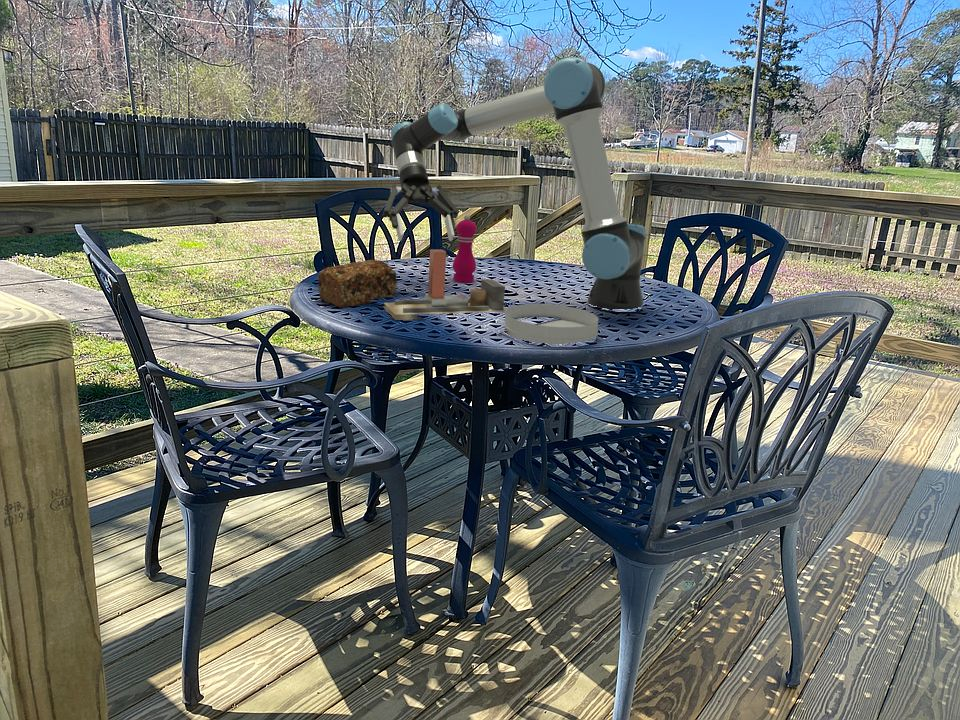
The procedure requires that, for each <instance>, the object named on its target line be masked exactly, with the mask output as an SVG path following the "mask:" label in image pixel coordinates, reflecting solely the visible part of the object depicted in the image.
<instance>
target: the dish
mask: <svg viewBox="0 0 960 720" xmlns="http://www.w3.org/2000/svg"><path fill="white" fill-rule="evenodd" d="M504 313H505V314H504V321H503V328H505V329H506V330H503V331H504V332H505V333H507V334H508V335H510V336H512V337H514V338H518V339H521V340H524V341H529V342H540V343H548V344H565V343H576V342H584V341H588V340H591V339H593V338H595V337H596V336H597V337H598V335H597V334H599V330H598V327H599V318H598V316H597V315H595V314H594V313H592V312H590V311H588V310H586V309H585V310H584V309H580V308H577V307H573V306H566V305H559V304H548V303H525V304H523V303H522V304H518V305H513V306H510V307H508V308H507V310H506V311H505V312H504ZM525 317H526V318H528V317H547V318H557V319H553V320H548V321H543V322H539V323H529V322H525V321H521V320H520V318H525ZM518 318H519V319H518ZM504 332H503V333H504Z"/></svg>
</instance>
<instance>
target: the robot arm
mask: <svg viewBox="0 0 960 720" xmlns="http://www.w3.org/2000/svg"><path fill="white" fill-rule="evenodd" d="M605 80H606V79H605V77H604V74H603V72H602V71H601V70H600V68H599V67H598V66H596V65H594V64H593V63H591V62H586V61H585V60H584V59H582V58H579V57H566V58H562V59H560V60H558V61H556V62H554V64H552V65H551V66H550V67H549V70H547V72H546V75H545V78H544V82H543V83H544V84H543V85H540V86H536V87H533V88H529V89H527V90H523V91H520V92H517V93H514V94H510V95H507V96H504V97H500V98H497V99H493V100H489V101H486V102H484V103H479V104H477V105H473V106H470V107H466V108H464V109H461V110H458V111H454V110H453V109H452V107H451V106H449V105H448V103H444V102H442V103H440V104H438V105H436V106H433V107H432V108H430V110H429V111H427V112H426V113H425V114H423V115H422V116H421V117H420V118H418V119H417V120H416V121H414V122H411V121H402V122H398V123H396V124H395V125H394V126H393V127H392V129H391V132H390V138H391V146H392V148H393V152H394V157H395V163H396V168H397V173H398V179H399V182H400V186H398V185H397V184H395V183H392V184H391V187H390V191H389V192H390V195H389V197H388V200H387V202H386V204H385V206H384V209H383V213H382V217H383V218H389V219H388V220H389V222H391V223H390V224H391V227H392V229H394V230H395V231H396V235H397V240H398V242H402V240H403V237H404V231H403V226H402V225H403V224H402V222H401V215H400V212H401V211H403V209H404V207H405V206H407V205H408V204H409V203H410V202H411V204H416V203H418V204H426V205H427V206H428V207H429V206H430V207H431V208H433V210H435V211H436V212H437V213H438V214H440V215H441V216H443V218H444V225H445V229H446V233H447V237H448V241H449V242H452V241H453V240H454V237H455V230H454V229H455V227H456V222H455V219H458V216H459V213H460V210H459V209H458V208H457V206H456V205H455V204H454V203H453V201H452V200H451V199H450V198H449V197H448V195H447V194H446V192H444V190H443V187H442V185H440V184H439V185H437V186H436V187H432V186H431V185H430V182H429V181H430V180H429V176H428V171H427V167H426V164H425V159H424V156H423V155H424V154H423V152H425V150H427V149H428V148H430V147H431V146H433V145H435V144H436V143H437V142H439V141H451V142H452V141H453V142H460V141H465V140H467V139H468V138H471V137H473V136H476V135H479V134H484V133H487V132H491V131H494V130H498V129H501V128H505V127H509V126H512V125H516V124H519V123H523V122H526V121H530V120H531V121H532V120H533V119H537V118H540V117H544V116H547V115H551V114H554V116H555V119H556V123H557V124H558V125H560V126H562V127H563V128H564V131H565V137H566V140H567V145H568V149H569V151H568V152H569V155H570V160H571V163H572V164H571V165H572V167H573V173H574V177H575V181H576V182H575V183H576V187H577V191H578V195H579V199H580V200H579V201H580V204H581V208H582V213H583V218H584V221H585V222H584V225H583V226H582V228H581V229H580V231H581V232H580V233H581V236H582V241H583V245H584V246H583V247H582V253H581V254H582V255H581V259H582V263H583V266H584V268H585V269H586V271H587V272H588V273H590V274H591V275H592V276H593V277H595V280H594V282H593V285H592V287H591V290H590V292H589V294H588V296H587V297H588V298H587V304H588V303H589V304H591V305H593V306H597V307H601V308H607V309H633V308H638V307H641V306H642V305H643V306H644V299H643V295H642V294H643V293H642V288H641V283H640V281H641V280H640V279H641V270H642V264H643V256H644V248H645V241H646V238H647V236H646V227H645V226H643V225H641V224H633V223H628V220H627V219H626V218H625V217H623V216H622V215H621V214H620V213H619V208H618V204H617V203H618V202H617V199H616V194H615V190H614V189H615V188H614V184H613V180H612V174H611V170H610V167H609V166H610V165H609V161H608V157H607V152H606V147H605V143H604V137H603V134H602V129H601V128H602V127H601V124H600V116H601V114H602V112H603V111H604V109H603V108H604V106H603V104H602V103H603V101H602V98H603V97H604V94H605V92H606V81H605ZM399 194H402V196H403V197H402V198H401V199H400V200H399V202H398V203H397V204H396V205H395V206H394V207H393V209H392V210H391V208H392V206H393V203H394V201H395V199H396V196H398V195H399Z"/></svg>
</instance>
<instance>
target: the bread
mask: <svg viewBox="0 0 960 720" xmlns="http://www.w3.org/2000/svg"><path fill="white" fill-rule="evenodd" d="M397 275H398V274H397V273H396V271H395V270H394V269H393V268H392V267H391V266H390V265H388V264H387V263H386V262H384V261H383V260H380V259H379V260H378V259H370V260H369V259H368V260H363V261H355V262H351V263H344V264H340V265H335V266H328V267H325V268H323V269H321V271H320V272H319V274H318V287H317V288H318V290H317V291H318V293H319V298H320V301H323V302H325V303H326V302H327V303H326V304H328V303H330V304H332V305H333V304H334V305H333V306H335V307H338V308H342V307H343V308H347V307H355V306H361V304H362V305H367V304H366V303H368V304H373V303H372V302H373V300H376V299H384V298H389V297H396V291H397V290H396V289H397V286H398V280H397ZM371 300H372V301H371Z"/></svg>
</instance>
